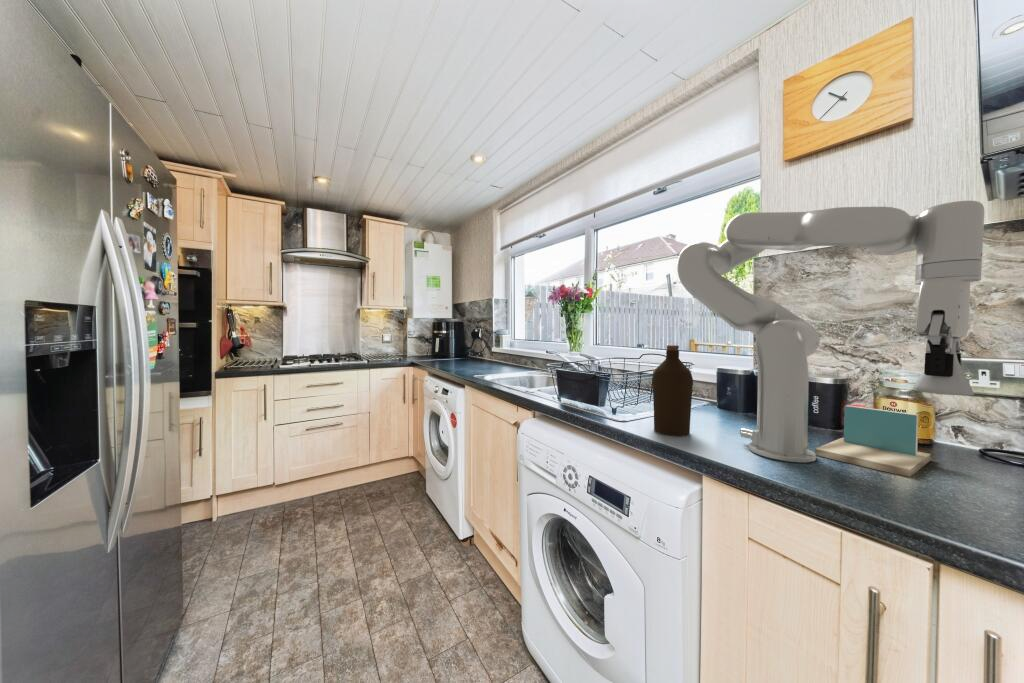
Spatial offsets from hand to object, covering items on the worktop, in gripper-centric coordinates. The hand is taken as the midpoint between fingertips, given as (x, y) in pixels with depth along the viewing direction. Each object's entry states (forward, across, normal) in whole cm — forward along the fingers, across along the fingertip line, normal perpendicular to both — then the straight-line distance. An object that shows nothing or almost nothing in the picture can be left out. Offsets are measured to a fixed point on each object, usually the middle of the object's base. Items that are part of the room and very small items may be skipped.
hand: (942, 374), depth 64 cm
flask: (+4, 0, 0) cm, 4 cm away
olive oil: (+22, +8, -48) cm, 54 cm away
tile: (+20, -18, -12) cm, 29 cm away
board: (+21, -13, -12) cm, 27 cm away
